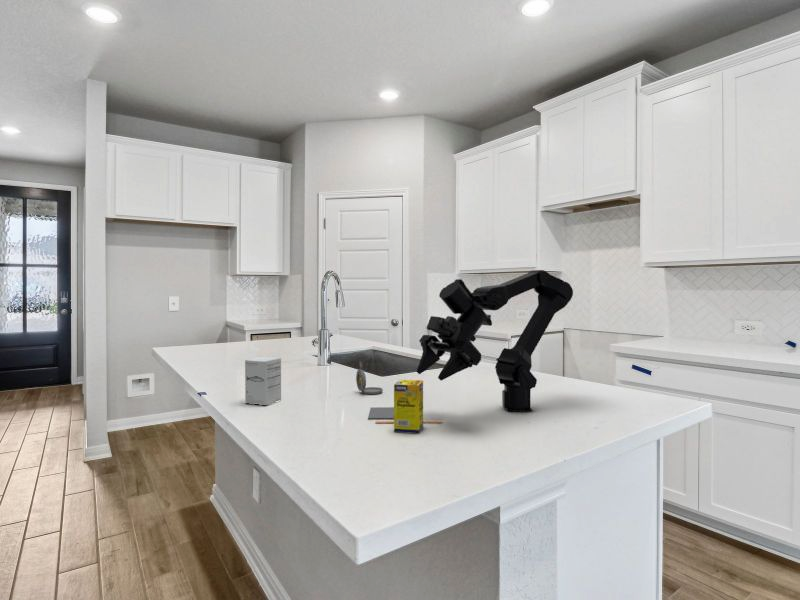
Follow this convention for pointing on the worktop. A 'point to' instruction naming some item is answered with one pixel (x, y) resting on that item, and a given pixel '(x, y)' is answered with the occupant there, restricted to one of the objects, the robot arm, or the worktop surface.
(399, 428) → the supplement box
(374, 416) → the mat
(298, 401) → the worktop surface
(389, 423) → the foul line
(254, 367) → the supplement box
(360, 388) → the pocket watch
